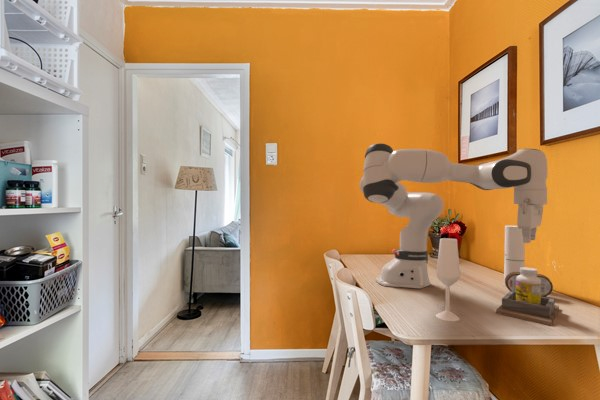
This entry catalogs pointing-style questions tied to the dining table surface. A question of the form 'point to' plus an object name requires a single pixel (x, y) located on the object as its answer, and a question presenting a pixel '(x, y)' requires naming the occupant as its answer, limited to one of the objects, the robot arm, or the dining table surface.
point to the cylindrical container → (513, 250)
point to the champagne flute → (448, 272)
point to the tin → (545, 281)
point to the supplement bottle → (528, 286)
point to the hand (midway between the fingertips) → (529, 241)
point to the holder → (529, 309)
